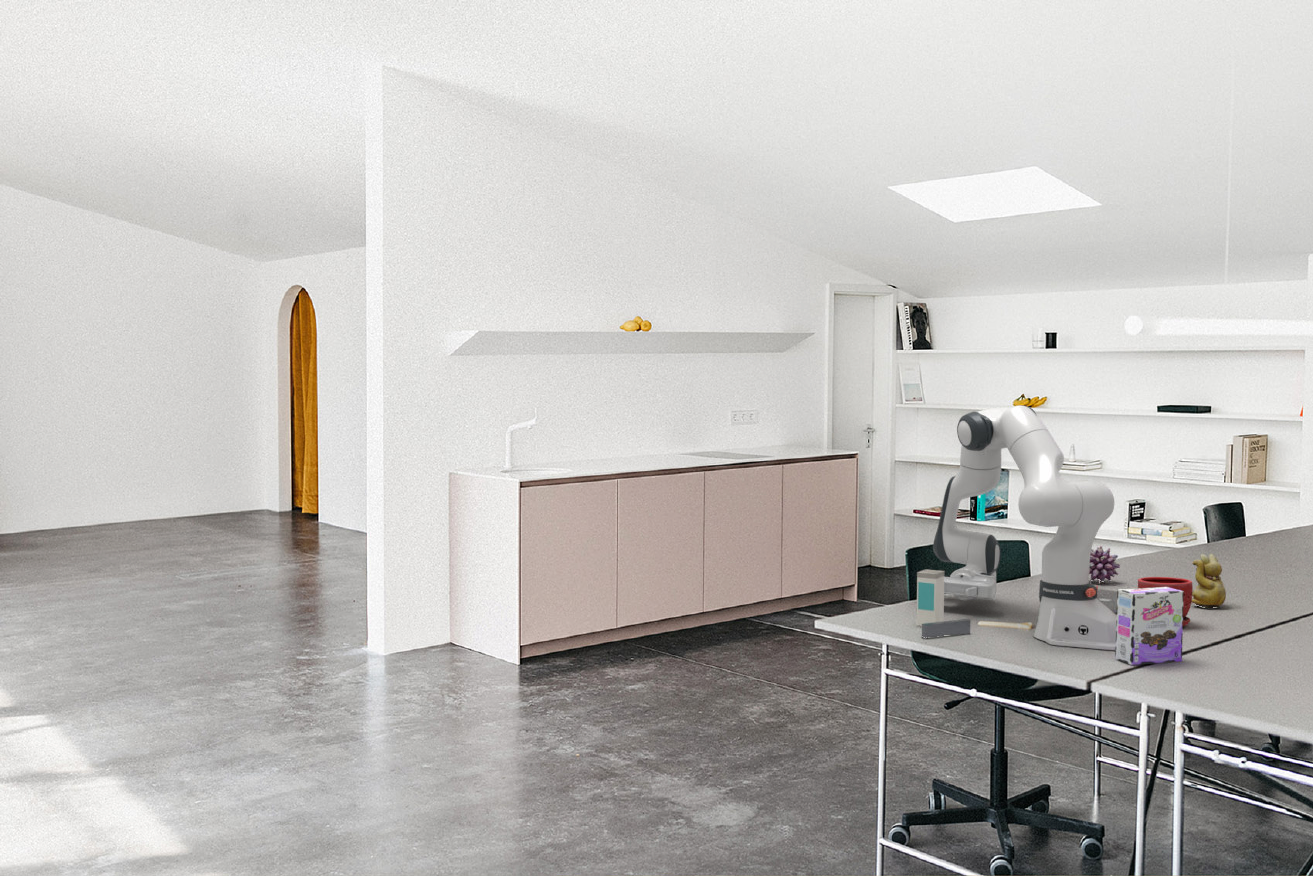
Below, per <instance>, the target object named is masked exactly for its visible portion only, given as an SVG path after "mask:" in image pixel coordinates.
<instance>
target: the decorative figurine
mask: <svg viewBox="0 0 1313 876" xmlns="http://www.w3.org/2000/svg"><path fill="white" fill-rule="evenodd" d="M1208 556H1209V557H1208ZM1192 565H1193V566H1196V569H1195V570H1196V572H1195V577H1194V578H1195V581H1196V582H1197V583H1198V584H1197V585H1196V587H1195V588H1194V589H1193V591H1192V602H1191V604H1194V605H1195V604H1196V605H1199V606H1202V607H1205V608H1213V607H1219V608H1220V606H1222V605H1224V603H1225V601H1226V597H1227V591H1226V588H1225V586H1224V581H1222V578H1221V576H1220V575H1221V574H1222V571H1223V568H1222V565H1221V564H1220V562H1219V560H1218V558H1217V556H1216V555H1215V554H1213V553H1210V554H1209V555H1206V554H1203V553H1202V554H1200V559H1194V560H1193V561H1192Z"/></svg>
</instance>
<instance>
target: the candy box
mask: <svg viewBox="0 0 1313 876" xmlns="http://www.w3.org/2000/svg"><path fill="white" fill-rule="evenodd" d="M1116 590H1117V591H1116V594H1117V595H1116V615H1117V617H1116V647H1115V650H1114V652H1115V653H1114V659H1115V660H1117V661H1119V662H1123V663H1125V664H1128V665H1130V666H1135V665H1136V666H1138V665H1149V664H1164V663H1177V662H1179V663H1180V662H1183V635H1184V634H1183V633H1184V632H1183V631H1184V629H1183V628H1184V626H1183V595H1184V591H1181V590H1177V589H1173V588H1169V587H1157V588H1139V589H1138V588H1117V589H1116Z"/></svg>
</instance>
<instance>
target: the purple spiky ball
mask: <svg viewBox="0 0 1313 876" xmlns="http://www.w3.org/2000/svg"><path fill="white" fill-rule="evenodd" d="M1110 552H1111V548H1107V550H1105V551H1104V548H1103V546H1102V545H1100V546H1097V547H1096V549H1095V550H1094V549H1092V548H1091V553H1090V566H1089V575H1090V580H1093V581H1094V580H1096V579H1100V580H1101V581H1104V582H1105V579H1106V580H1107V581H1109V580H1112V578H1111V577H1113V578H1115V575H1117V576H1118V575H1119V573H1118V572H1117V570H1116V569H1120V567H1121V564H1120V563H1117V562H1116V560H1117V558H1119V555H1118V554H1112V555H1111V553H1110Z"/></svg>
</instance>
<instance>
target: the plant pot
mask: <svg viewBox="0 0 1313 876" xmlns="http://www.w3.org/2000/svg"><path fill="white" fill-rule="evenodd" d="M1193 586H1194V585H1193V581H1192V580H1190V579H1187V578H1180V577H1170V576H1169V577H1168V576H1149V577H1148V576H1147V577H1141V578H1138V579H1137V589H1139V588H1157V587H1169V588H1173V589H1177V590H1181V591H1184V595H1183V627H1185V626H1187V625H1189V624H1190V622H1191V619H1190V617H1188V616H1187V615H1188V614H1189V611H1190V609H1191V607H1192V606H1191V605H1192V598H1193V596H1192V591H1193V590H1194V589H1193Z"/></svg>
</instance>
